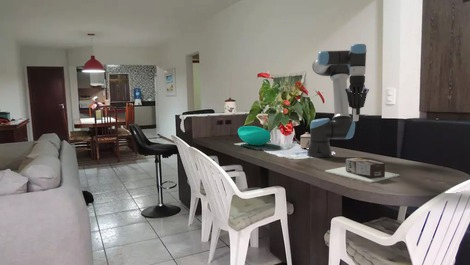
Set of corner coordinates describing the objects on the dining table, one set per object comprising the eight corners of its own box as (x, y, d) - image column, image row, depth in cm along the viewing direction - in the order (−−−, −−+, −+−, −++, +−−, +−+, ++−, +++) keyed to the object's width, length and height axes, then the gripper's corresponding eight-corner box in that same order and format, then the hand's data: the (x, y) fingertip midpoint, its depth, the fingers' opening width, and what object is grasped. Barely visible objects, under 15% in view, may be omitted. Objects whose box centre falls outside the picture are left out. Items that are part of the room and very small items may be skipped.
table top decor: (231, 143, 270) (230, 126, 268) (261, 140, 280) (261, 125, 279) (251, 150, 233) (251, 131, 232) (285, 147, 244) (285, 129, 242)
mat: (324, 171, 164) (324, 170, 164) (352, 166, 176) (352, 165, 176) (370, 182, 143) (370, 181, 143) (399, 175, 154) (399, 174, 154)
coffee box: (345, 171, 162) (369, 178, 147) (345, 158, 161) (370, 164, 146) (359, 170, 165) (385, 177, 150) (360, 157, 164) (385, 163, 149)
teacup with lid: (307, 150, 231) (307, 133, 230) (297, 148, 238) (297, 132, 237) (318, 148, 238) (318, 132, 237) (308, 146, 245) (308, 131, 244)
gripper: (342, 75, 172) (340, 120, 175) (363, 74, 161) (361, 122, 165) (351, 75, 176) (350, 119, 179) (373, 74, 165) (371, 121, 168)
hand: (355, 120), depth 172 cm, fingers closed
